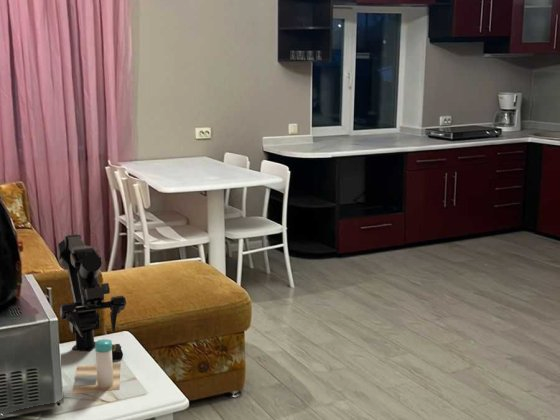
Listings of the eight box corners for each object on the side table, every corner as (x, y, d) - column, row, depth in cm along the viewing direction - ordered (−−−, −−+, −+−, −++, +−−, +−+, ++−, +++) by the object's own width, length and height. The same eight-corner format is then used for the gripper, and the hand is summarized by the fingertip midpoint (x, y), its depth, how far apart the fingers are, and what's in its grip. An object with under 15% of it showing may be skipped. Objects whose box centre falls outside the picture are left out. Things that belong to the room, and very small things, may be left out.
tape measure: (123, 361, 213) (123, 350, 212) (100, 364, 211) (100, 353, 210) (121, 352, 219) (121, 342, 219) (99, 355, 217) (99, 344, 216)
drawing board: (77, 367, 208) (77, 365, 208) (120, 364, 210) (120, 362, 210) (71, 395, 191) (71, 393, 190) (119, 391, 193) (119, 389, 193)
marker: (101, 380, 199) (99, 338, 196) (116, 381, 198) (114, 340, 195) (94, 387, 194) (92, 345, 191) (109, 389, 193) (107, 346, 191)
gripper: (59, 278, 196) (67, 329, 190) (124, 270, 204) (134, 318, 198) (56, 294, 205) (64, 343, 199) (118, 285, 213) (128, 332, 207)
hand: (98, 334), depth 200 cm, fingers open, 9 cm apart
